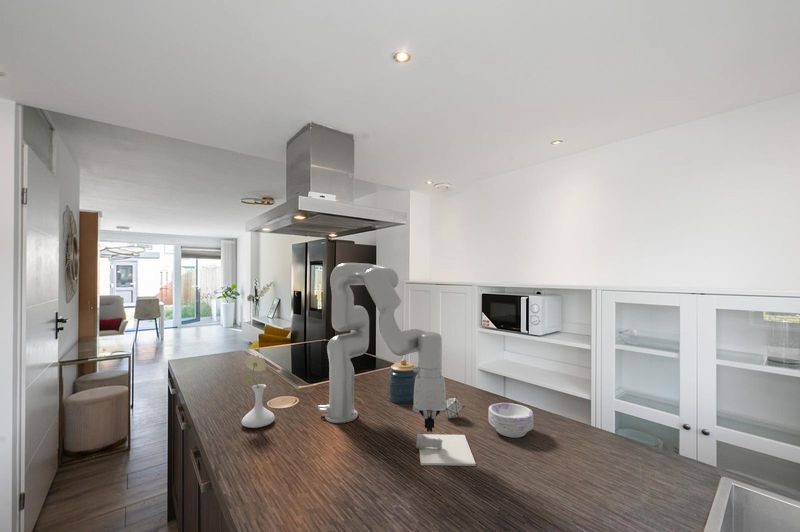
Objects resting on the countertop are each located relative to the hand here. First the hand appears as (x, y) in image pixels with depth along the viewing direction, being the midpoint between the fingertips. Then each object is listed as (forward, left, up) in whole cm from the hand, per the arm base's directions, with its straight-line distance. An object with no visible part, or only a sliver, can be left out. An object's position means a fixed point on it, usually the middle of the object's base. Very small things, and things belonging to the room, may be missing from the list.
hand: (429, 429), depth 110 cm
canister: (-8, +44, -6) cm, 45 cm away
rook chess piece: (-4, 0, -3) cm, 5 cm away
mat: (+5, 0, -6) cm, 8 cm away
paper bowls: (+30, +13, -6) cm, 33 cm away
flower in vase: (-62, +17, -6) cm, 65 cm away
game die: (+11, +24, -6) cm, 27 cm away
